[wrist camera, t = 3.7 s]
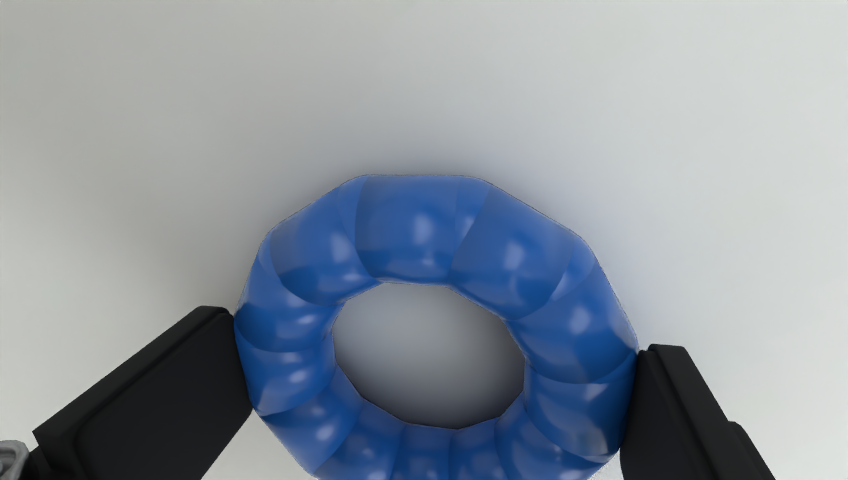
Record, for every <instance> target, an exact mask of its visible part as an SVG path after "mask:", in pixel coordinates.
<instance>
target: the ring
mask: <svg viewBox="0 0 848 480" xmlns="http://www.w3.org/2000/svg"><path fill="white" fill-rule="evenodd" d="M384 282H385V283H400V284H415V285H430V286H445V287H447V288H449V289H451V290H452V291H454V292H456V293H457V294H459V295H461V296H463V297H464V298H466V299H468V300H470V301H471V302H473V303H475V304H477V305H478V306H480V307H482V308H483V309H485V310H487V311H489V312H490V313H492V314H494V315H496V316H497V317H499V318H501V320H502V321H503V323H504V325H505V326H506V328H507V329H508V331H509V333H510V334H511V336H512V338H513V339H514V341H515V343H516V344H517V346H518V347H519V349H520V351H521V352H522V354H523V356H524V357H525V369H524V384H523V391H522V392H521V393H520V395H519V396H518V397H517V398H516V399H515V400H514V401H513V402H512V404H511V405H510V406H509V407H508V408H507V409H506V410H505V411H504V413H503V414H502V415H501V416H500V417H497V418H493V419H490V420H487V421H484V422H481V423H477V424H474V425H471V426H468V427H464V428H461V429H458V430H456V429H448V428H441V427H433V426H426V425H418V424H411V423H406V422H404V421H402V420H401V419H399V418H397V417H395V416H394V415H392V414H390V413H388V412H387V411H385V410H383V409H381V408H380V407H378V406H376V405H374V404H373V403H371V402H369V401H367V400H366V399H364V398H363V397H362V396H361V395H360V393H359V392H358V391H357V389H356V388H355V387H354V385H353V384H352V383H351V381H350V380H349V379H348V377H347V376H346V375H345V373H344V372H343V371H342V369H341V368H340V367H339V365H338V364H337V363H336V357H335V350H334V342H333V335H332V326H333V324H334V322H335V320H336V318H337V317H338V315H339V313H340V311H341V309H342V307H343V305H344V303H345V301H347V300H349V299H351V298H353V297H355V296H357V295H359V294H361V293H363V292H365V291H368V290H370V289H372V288H374V287H376V286H378V285H380V284H382V283H384ZM233 328H234V336H235V340H236V344H237V348H238V353H239V357H240V361H241V365H242V369H243V373H244V378H245V382H246V386H247V390H248V394H249V398H250V401H251V404H252V406H253V408H254V410H255V411H256V413H257V414H258V415H259V417H260V418H261V419H262V420H263V421H264V423H265V424H266V425H267V426H268V427H269V429H270V430H271V431H272V432H273V433H274V435H275V436H276V437H277V438H278V439H279V441H280V442H281V443H282V444H283V445H284V447H285V448H286V449H287V450H288V452H289V453H290V454H291V455H292V456H293V458H294V459H295V460H296V461H297V462H298V464H299V465H300V466H301V467H302V468H303V469H304V470H305V471H306V472H307V473H309V474H310V475H312V476H314V477H315V478H317V479H319V480H588V479H589V478H590V477H591V476H592V475H593V474H594V473H596V472H597V471H598V470H599V469H600V468H601V467H603V466H604V465H605V464H606V463H607V462H608V461H609V460H611V459H612V457H613V456H614V455H615V454H616V453H617V452H618V450H619V448H620V446H621V444H622V442H623V437H624V432H625V427H626V422H627V416H628V411H629V406H630V400H631V395H632V390H633V385H634V379H635V374H636V368H637V358H638V356H637V355H638V352H639V346H638V341H637V337H636V334H635V332H634V330H633V328H632V326H631V324H630V322H629V320H628V318H627V316H626V314H625V312H624V310H623V309H622V307H621V305H620V303H619V301H618V299H617V297H616V295H615V293H614V291H613V289H612V288H611V286H610V284H609V282H608V280H607V278H606V276H605V274H604V272H603V270H602V269H601V267H600V265H599V263H598V261H597V259H596V257H595V255H594V253H593V252H592V250H591V249H590V247H589V246H588V245H587V243H586V242H585V241H584V240H583V239H582V238H581V237H580V236H579V235H577V234H576V233H574V232H573V231H571V230H570V229H568V228H566V227H565V226H563V225H561V224H559V223H558V222H556V221H554V220H553V219H551V218H549V217H547V216H546V215H544V214H542V213H541V212H539V211H537V210H535V209H534V208H532V207H530V206H529V205H527V204H525V203H523V202H522V201H520V200H518V199H517V198H515V197H513V196H511V195H510V194H508V193H506V192H505V191H503V190H501V189H499V188H498V187H496V186H494V185H493V184H491V183H488V182H486V181H485V180H482V179H479V178H475V177H470V176H443V175H363V176H359V177H356V178H353V179H351V180H349V181H347V182H345V183H343V184H341V185H340V186H338V187H337V188H335V189H333V190H332V191H330V192H329V193H327V194H325V195H324V196H322V197H320V198H319V199H317V200H316V201H314V202H312V203H311V204H309V205H308V206H306V207H304V208H303V209H301V210H300V211H298V212H296V213H295V214H293V215H291V216H290V217H288V218H287V219H285V220H283V221H282V222H280V223H279V224H278V225H276V226H275V227H274V228H273V229H272V230H271V231H270V232H269V233H268V234H267V235H266V236H265V238H264V240H263V241H262V243H261V245H260V247H259V250H258V252H257V255H256V258H255V260H254V263H253V266H252V268H251V271H250V273H249V276H248V279H247V281H246V284H245V286H244V289H243V292H242V294H241V297H240V300H239V302H238V305H237V307H236V311H235V314H234V320H233Z"/></svg>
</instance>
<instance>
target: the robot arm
mask: <svg viewBox="0 0 848 480" xmlns="http://www.w3.org/2000/svg"><path fill="white" fill-rule="evenodd" d="M233 320H234V317H233V316H232V315H231V314H229V311H228V310H227V309H226V308H223V307H213V306H199V307H197V308H196V309H194V310H193V311H192V312H190V313H189V314H188V315H186V316H185V317H184V318H182V319H181V320H180V321H178V322H177V323H176V324H174V325H173V326H172V327H170V328H169V329H168V330H166V331H165V332H164V333H162V334H161V335H160V336H158V337H157V338H156V339H154V340H153V341H152V342H150V343H149V344H148V345H146V346H145V347H144V348H143V349H141V350H140V351H139V352H137V353H136V354H135V355H133V356H132V357H131V358H129V359H128V360H127V361H125V362H124V363H123V364H121V365H120V366H119V367H117V368H116V369H115V370H113V371H112V372H111V373H109V374H108V375H107V376H105V377H104V378H103V379H101V380H100V381H99V382H97V383H96V384H95V385H93V386H92V387H91V388H89V389H88V390H87V391H85V392H84V393H83V394H81V395H80V396H79V397H77V398H76V399H75V400H73V401H72V402H71V403H69V404H68V405H67V406H65V407H64V408H63V409H61V410H60V411H59V412H57V413H56V414H55V415H53V416H52V417H51V418H49V419H48V420H47V421H45V422H44V423H43V424H41V425H40V426H39V427H37V428H36V429H35V430H33V431H32V432H33V434H34V436H35V438H36V440H37V442H38V444H39V446H38V447H36V448H35V449H34V450H33V451H31V452H29V450H28V448H27V447H26V445H25V443H23V442H20V441H17V440H5V441H0V480H201V478H202V477H203V476H204V474H205V473H206V472H207V471H208V469H209V468H210V467H211V465H212V464H213V463H214V461H215V460H216V459H217V458H218V456H219V455H220V454H221V452H222V451H223V450H224V448H225V447H226V446H227V444H228V443H229V442H230V441H231V439H232V438H233V437H234V435H235V434H236V433H237V431H238V430H239V429H240V428H241V426H242V425H243V424H244V422H245V421H246V420H247V418H248V417H249V416H250V414H251V412H252V409H253V406H252V404H251V401H250V398H249V394H248V390H247V386H246V382H245V378H244V373H243V369H242V365H241V361H240V357H239V353H238V348H237V344H236V340H235V336H234V328H233ZM637 356H638V358H637V368H636V374H635V379H634V385H633V390H632V395H631V400H630V406H629V411H628V416H627V422H626V427H625V432H624V437H623V442H622V444H621V446H620V464H621V470H622V474H623V478H624V480H776V479H775V478H774V476H773V475H772V473H771V471H770V470H769V468H768V467H767V465H766V463H765V462H764V460H763V459H762V457H761V455H760V454H759V452H758V451H757V449H756V447H755V446H754V444H753V443H752V441H751V439H750V438H749V436H748V434H747V433H746V432H745V430H744V429H743V428H742V427H741V425H739V424H737V423H736V422H732V421H728V420H727V418H726V416H725V415H724V413H723V411H722V410H721V408H720V406H719V404H718V403H717V401H716V399H715V398H714V396H713V394H712V393H711V391H710V389H709V388H708V386H707V384H706V383H705V381H704V379H703V377H702V376H701V374H700V372H699V371H698V369H697V367H696V366H695V364H694V362H693V361H692V359H691V357H690V356H689V354H688V352H687V350H686V349H685V348H684V347H682V346H672V345H660V344H651V345H650V346H649V347H648V350H647V351H645V350H640V351H639V352H638V355H637Z"/></svg>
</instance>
